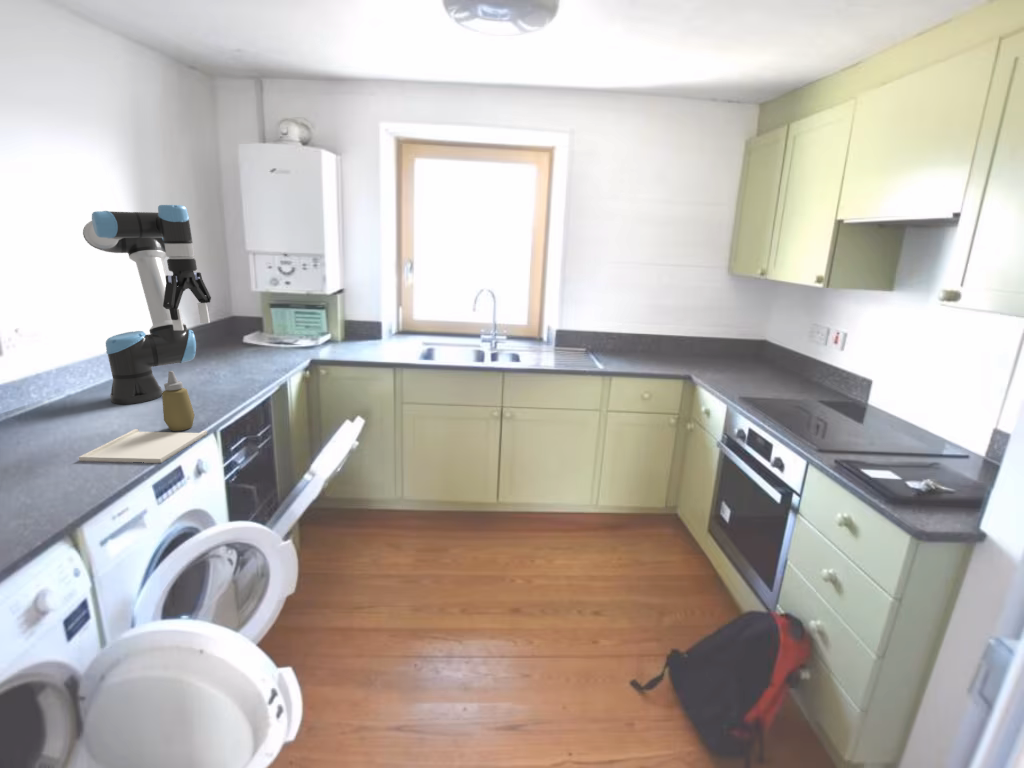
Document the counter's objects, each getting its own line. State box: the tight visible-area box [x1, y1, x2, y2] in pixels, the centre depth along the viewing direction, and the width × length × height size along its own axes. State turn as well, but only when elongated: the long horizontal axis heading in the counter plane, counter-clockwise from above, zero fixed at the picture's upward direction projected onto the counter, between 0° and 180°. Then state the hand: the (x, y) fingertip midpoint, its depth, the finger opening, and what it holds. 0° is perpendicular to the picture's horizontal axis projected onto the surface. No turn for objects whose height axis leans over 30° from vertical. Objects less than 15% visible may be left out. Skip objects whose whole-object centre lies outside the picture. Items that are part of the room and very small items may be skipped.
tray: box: [78, 428, 208, 464], centre depth 145 cm, size 20×22×1 cm
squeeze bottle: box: [161, 370, 195, 432], centre depth 157 cm, size 8×8×18 cm
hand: (192, 326), depth 166 cm, fingers open, 13 cm apart
